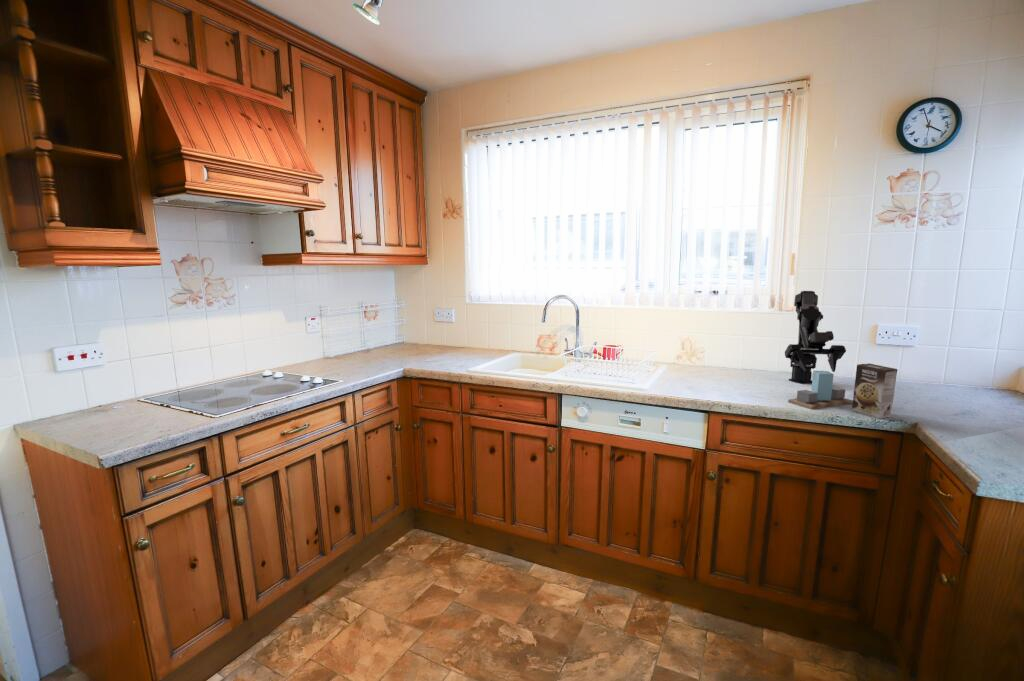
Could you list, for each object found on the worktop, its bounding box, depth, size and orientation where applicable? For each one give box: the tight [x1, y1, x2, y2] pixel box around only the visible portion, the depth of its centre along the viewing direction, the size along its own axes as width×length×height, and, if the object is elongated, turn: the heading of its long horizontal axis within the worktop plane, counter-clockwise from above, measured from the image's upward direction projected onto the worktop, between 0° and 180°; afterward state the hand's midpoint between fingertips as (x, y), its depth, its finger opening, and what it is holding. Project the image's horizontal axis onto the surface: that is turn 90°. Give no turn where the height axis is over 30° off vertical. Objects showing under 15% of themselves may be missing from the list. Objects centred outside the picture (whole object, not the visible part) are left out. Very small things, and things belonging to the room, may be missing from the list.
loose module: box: [810, 370, 834, 401], centre depth 171 cm, size 4×5×10 cm
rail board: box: [787, 397, 853, 410], centre depth 172 cm, size 20×9×1 cm, turn 109°
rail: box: [797, 397, 845, 404], centre depth 172 cm, size 18×4×1 cm, turn 109°
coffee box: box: [851, 363, 898, 419], centre depth 158 cm, size 9×6×16 cm
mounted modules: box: [796, 385, 846, 402], centre depth 172 cm, size 18×4×3 cm, turn 109°
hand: (819, 371), depth 173 cm, fingers open, 9 cm apart
